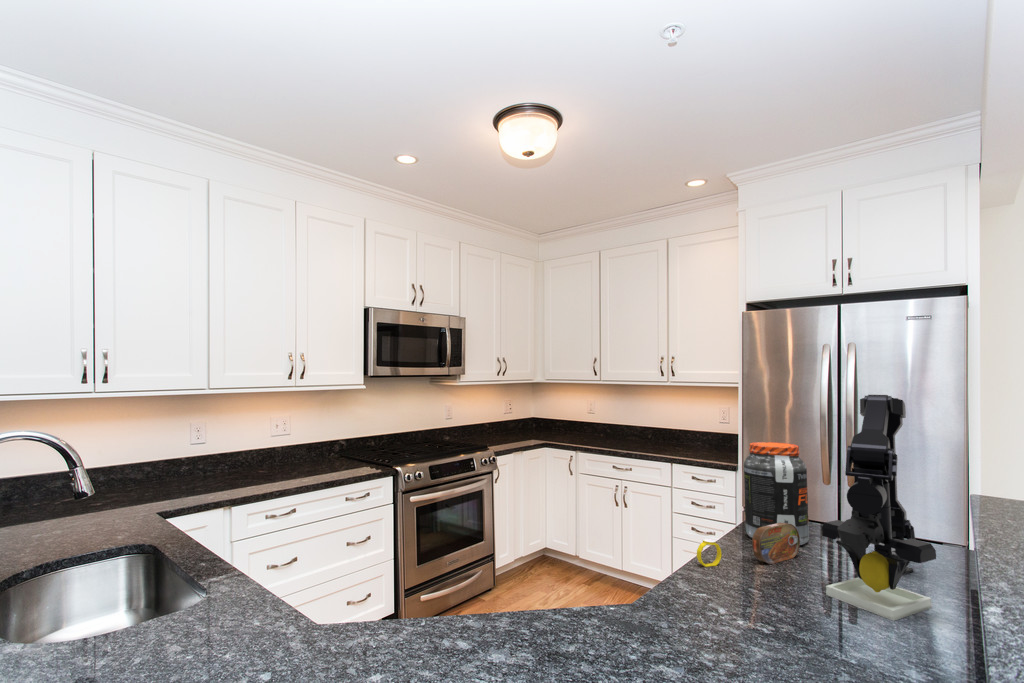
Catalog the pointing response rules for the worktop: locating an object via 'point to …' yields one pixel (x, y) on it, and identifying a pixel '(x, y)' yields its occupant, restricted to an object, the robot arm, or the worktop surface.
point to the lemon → (875, 571)
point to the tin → (776, 543)
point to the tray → (879, 599)
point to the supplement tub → (775, 488)
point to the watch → (700, 548)
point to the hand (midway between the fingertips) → (876, 583)
